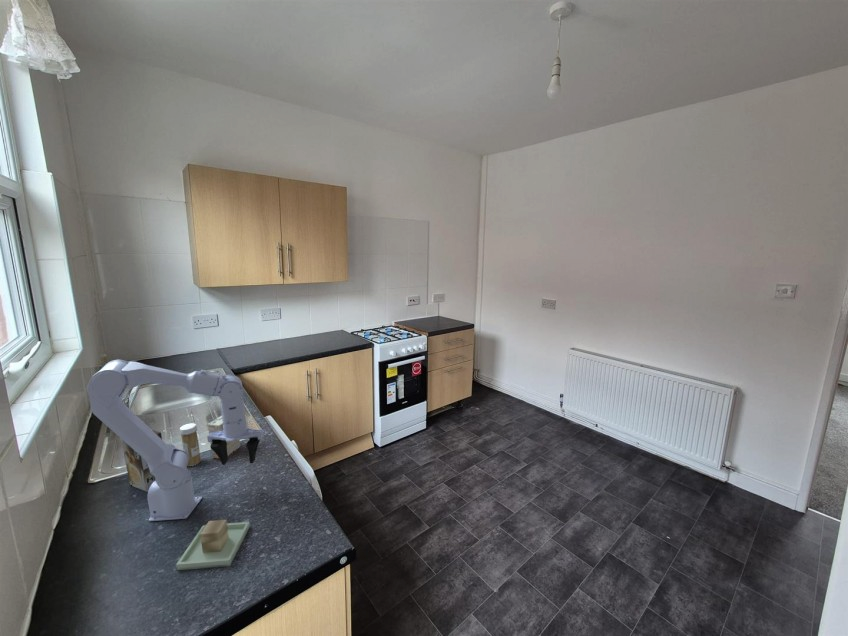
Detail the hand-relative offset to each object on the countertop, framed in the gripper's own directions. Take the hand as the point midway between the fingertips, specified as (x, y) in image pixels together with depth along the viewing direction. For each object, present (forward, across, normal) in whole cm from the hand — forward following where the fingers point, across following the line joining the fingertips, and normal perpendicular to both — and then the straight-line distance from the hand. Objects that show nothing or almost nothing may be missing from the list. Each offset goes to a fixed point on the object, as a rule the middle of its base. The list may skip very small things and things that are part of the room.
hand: (239, 462), depth 100 cm
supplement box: (+10, -14, +21) cm, 27 cm away
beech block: (+9, +2, -20) cm, 22 cm away
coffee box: (+10, -30, +7) cm, 32 cm away
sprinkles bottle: (+10, -22, +16) cm, 29 cm away
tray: (+9, +2, -20) cm, 22 cm away
